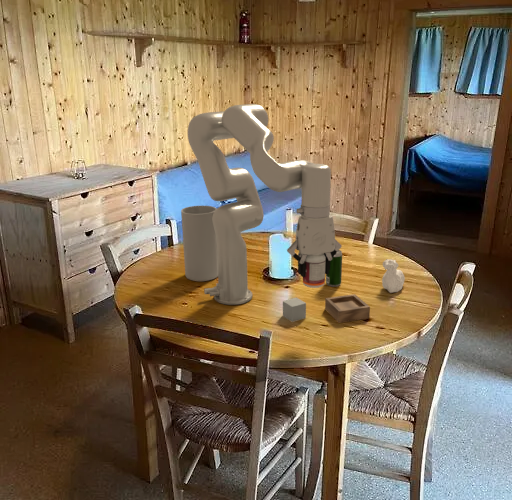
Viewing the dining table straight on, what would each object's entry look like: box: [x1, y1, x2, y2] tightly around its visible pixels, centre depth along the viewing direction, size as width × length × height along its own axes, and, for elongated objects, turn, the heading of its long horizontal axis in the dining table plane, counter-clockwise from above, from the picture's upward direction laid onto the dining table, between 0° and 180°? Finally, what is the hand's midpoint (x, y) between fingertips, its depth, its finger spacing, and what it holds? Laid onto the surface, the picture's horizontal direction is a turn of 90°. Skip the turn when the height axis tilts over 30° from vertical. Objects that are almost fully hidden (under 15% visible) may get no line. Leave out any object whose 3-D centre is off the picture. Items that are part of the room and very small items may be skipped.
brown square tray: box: [324, 293, 371, 324], centre depth 159 cm, size 10×10×4 cm
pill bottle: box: [302, 253, 326, 289], centre depth 144 cm, size 6×6×11 cm
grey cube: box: [282, 297, 307, 323], centre depth 158 cm, size 5×5×5 cm
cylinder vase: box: [180, 205, 218, 282], centre depth 188 cm, size 12×12×25 cm
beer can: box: [325, 249, 343, 288], centre depth 181 cm, size 5×5×12 cm
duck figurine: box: [381, 258, 406, 294], centre depth 177 cm, size 12×8×11 cm
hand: (313, 273), depth 145 cm, fingers closed on pill bottle, 6 cm apart
